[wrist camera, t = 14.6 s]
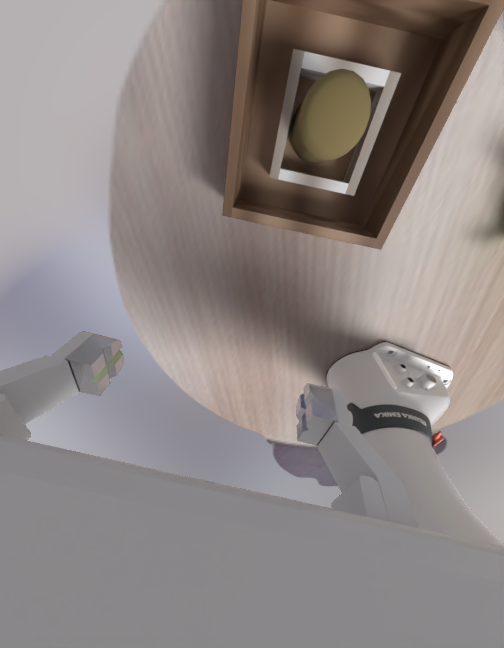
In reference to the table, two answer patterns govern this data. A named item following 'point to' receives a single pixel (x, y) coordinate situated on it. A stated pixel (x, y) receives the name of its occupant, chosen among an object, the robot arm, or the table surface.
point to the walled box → (385, 115)
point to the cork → (331, 117)
